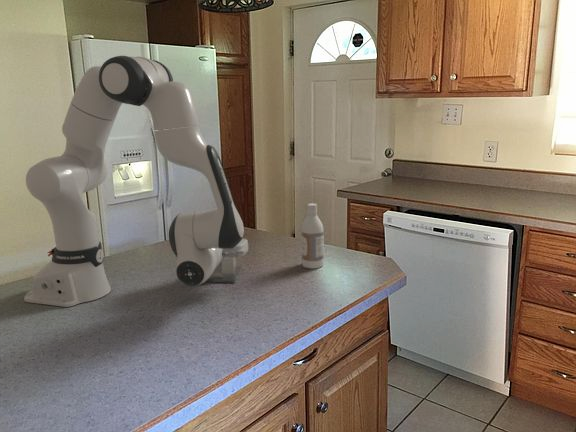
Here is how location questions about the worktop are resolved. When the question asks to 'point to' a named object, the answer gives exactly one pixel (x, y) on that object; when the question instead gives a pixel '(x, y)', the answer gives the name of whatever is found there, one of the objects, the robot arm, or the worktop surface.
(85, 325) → the worktop surface
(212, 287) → the worktop surface
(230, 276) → the octagonal cup holder
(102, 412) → the worktop surface
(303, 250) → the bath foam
